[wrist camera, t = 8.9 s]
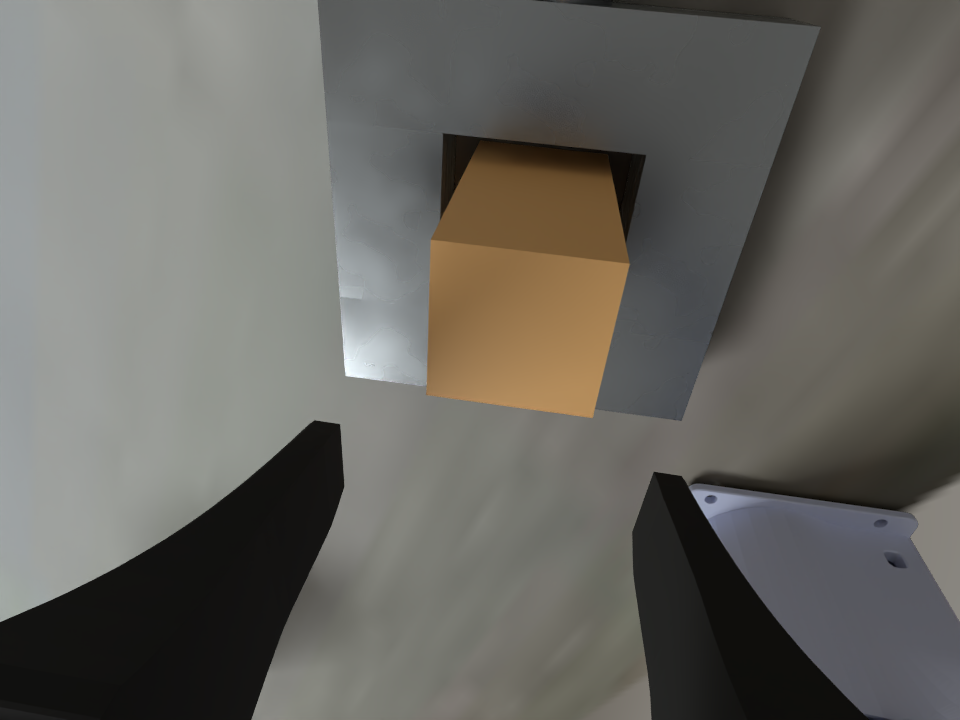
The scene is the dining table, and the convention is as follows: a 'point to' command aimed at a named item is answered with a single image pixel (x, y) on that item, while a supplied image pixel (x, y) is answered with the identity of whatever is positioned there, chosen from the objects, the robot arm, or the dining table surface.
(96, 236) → the dining table surface
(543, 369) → the tan cardboard box
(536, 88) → the bracket head
